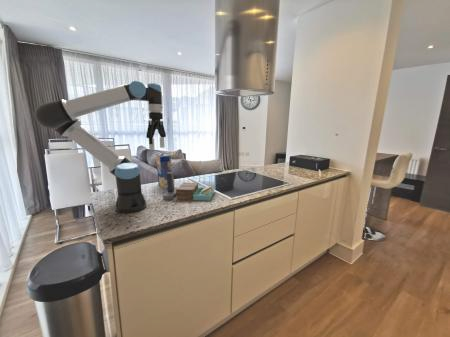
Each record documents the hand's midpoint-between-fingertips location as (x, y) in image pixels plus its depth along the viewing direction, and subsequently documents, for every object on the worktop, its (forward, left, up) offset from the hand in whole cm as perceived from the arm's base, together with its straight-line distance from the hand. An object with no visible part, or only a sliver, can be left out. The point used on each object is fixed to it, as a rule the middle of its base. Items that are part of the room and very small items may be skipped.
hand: (157, 148), depth 125 cm
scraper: (+1, -7, -30) cm, 31 cm away
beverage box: (+21, +6, -30) cm, 37 cm away
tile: (+2, -29, -25) cm, 38 cm away
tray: (+1, -28, -30) cm, 40 cm away
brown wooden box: (+1, -17, -30) cm, 34 cm away
